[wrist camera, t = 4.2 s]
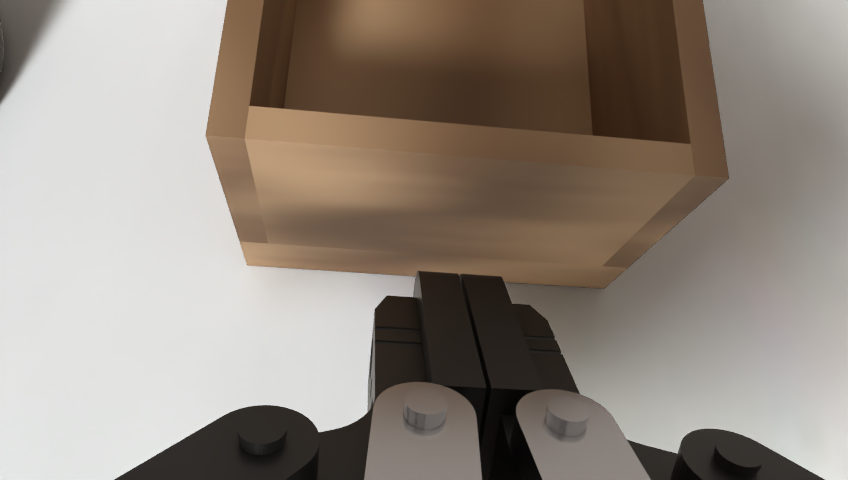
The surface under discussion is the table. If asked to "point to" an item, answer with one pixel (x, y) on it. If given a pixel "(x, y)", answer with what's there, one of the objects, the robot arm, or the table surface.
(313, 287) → the table surface
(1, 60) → the supplement bottle
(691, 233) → the table surface
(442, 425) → the robot arm
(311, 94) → the walnut holder
